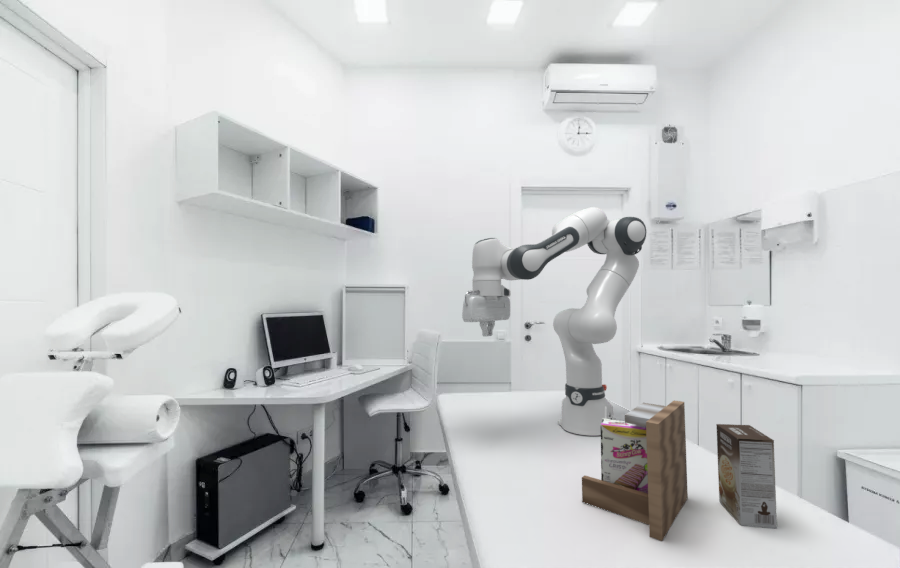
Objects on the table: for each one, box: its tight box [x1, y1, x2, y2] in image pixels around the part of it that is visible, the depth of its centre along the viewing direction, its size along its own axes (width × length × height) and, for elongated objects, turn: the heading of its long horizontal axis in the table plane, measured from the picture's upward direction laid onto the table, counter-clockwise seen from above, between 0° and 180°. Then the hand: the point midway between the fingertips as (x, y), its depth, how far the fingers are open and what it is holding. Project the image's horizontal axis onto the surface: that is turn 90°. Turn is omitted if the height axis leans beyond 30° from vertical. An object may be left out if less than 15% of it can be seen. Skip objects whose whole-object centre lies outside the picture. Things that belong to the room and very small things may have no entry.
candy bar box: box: [600, 418, 648, 494], centre depth 82 cm, size 11×5×16 cm, turn 65°
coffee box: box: [716, 423, 778, 529], centre depth 78 cm, size 9×6×16 cm
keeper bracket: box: [581, 400, 689, 542], centre depth 82 cm, size 20×16×20 cm
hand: (487, 336), depth 122 cm, fingers closed
